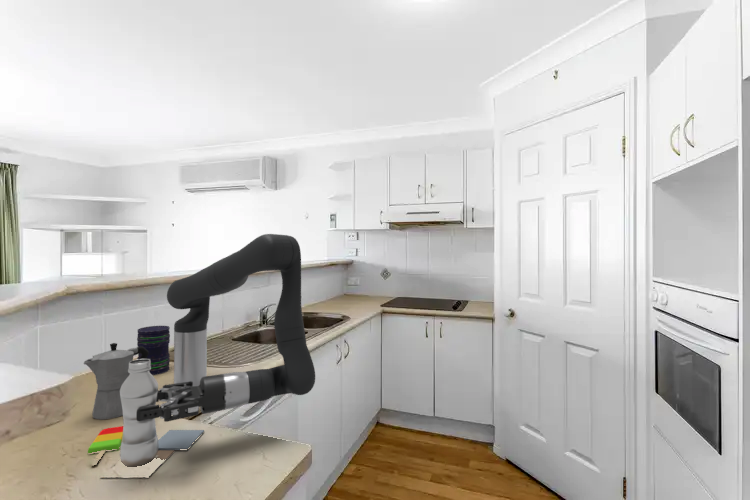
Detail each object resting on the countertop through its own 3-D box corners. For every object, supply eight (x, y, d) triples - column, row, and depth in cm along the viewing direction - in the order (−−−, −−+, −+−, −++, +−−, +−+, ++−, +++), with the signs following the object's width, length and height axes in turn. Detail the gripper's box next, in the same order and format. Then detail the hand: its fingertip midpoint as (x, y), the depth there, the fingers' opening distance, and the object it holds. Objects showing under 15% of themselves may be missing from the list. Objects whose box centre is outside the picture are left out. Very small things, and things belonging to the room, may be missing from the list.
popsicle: (129, 432, 88) (129, 424, 88) (110, 467, 74) (110, 457, 74) (101, 436, 86) (101, 428, 86) (76, 472, 72) (76, 463, 72)
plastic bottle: (140, 474, 70) (141, 367, 70) (110, 469, 72) (111, 365, 72) (166, 455, 77) (166, 357, 77) (138, 451, 78) (138, 355, 78)
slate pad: (169, 432, 87) (169, 429, 87) (204, 432, 87) (204, 429, 87) (149, 450, 79) (149, 448, 79) (187, 450, 79) (187, 448, 79)
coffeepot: (93, 426, 90) (93, 351, 90) (74, 417, 95) (75, 346, 95) (157, 403, 103) (157, 338, 103) (138, 397, 108) (138, 334, 108)
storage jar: (175, 367, 135) (176, 325, 135) (157, 376, 125) (157, 331, 125) (150, 366, 136) (150, 325, 136) (129, 375, 126) (130, 331, 126)
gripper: (219, 365, 88) (138, 377, 80) (230, 384, 76) (136, 400, 68) (219, 397, 88) (138, 412, 80) (230, 421, 76) (135, 442, 68)
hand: (137, 406), depth 74 cm, fingers open, 8 cm apart
